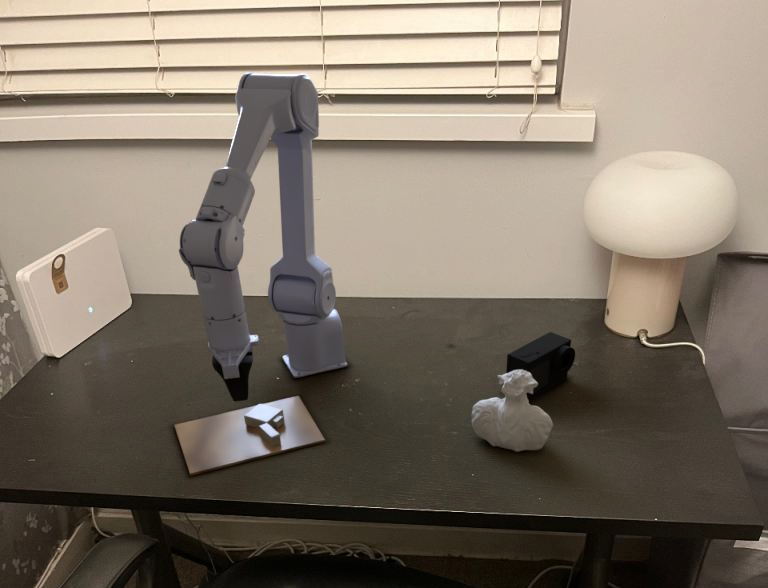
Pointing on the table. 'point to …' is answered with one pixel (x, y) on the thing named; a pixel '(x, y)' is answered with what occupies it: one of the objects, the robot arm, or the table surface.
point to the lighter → (266, 422)
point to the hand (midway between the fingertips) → (240, 398)
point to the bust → (512, 416)
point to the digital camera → (543, 361)
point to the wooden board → (243, 437)
